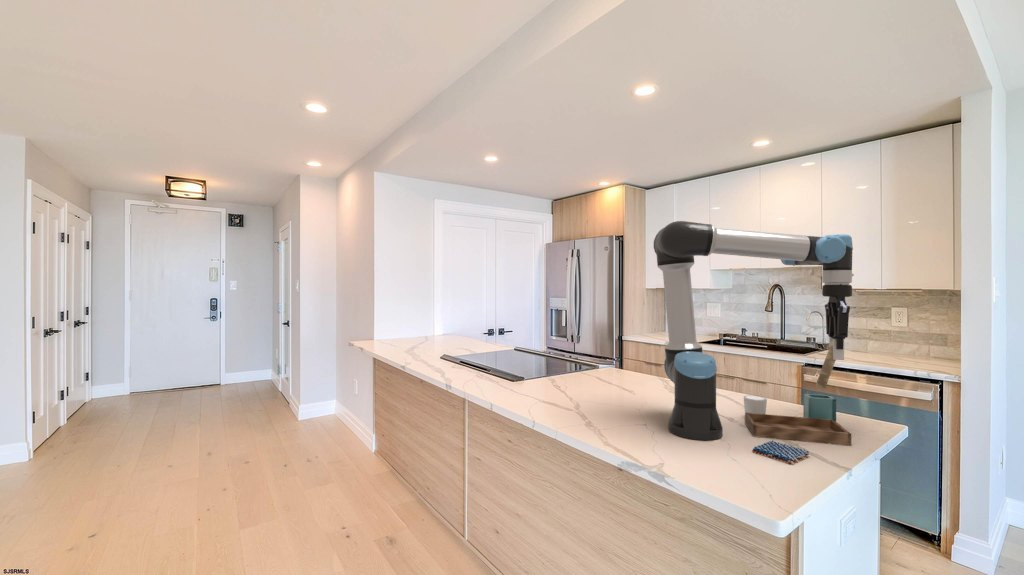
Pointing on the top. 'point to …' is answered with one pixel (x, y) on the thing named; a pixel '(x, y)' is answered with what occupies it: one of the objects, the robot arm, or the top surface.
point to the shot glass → (755, 404)
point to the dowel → (826, 368)
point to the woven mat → (781, 452)
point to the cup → (819, 406)
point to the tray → (797, 428)
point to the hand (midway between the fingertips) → (836, 358)
